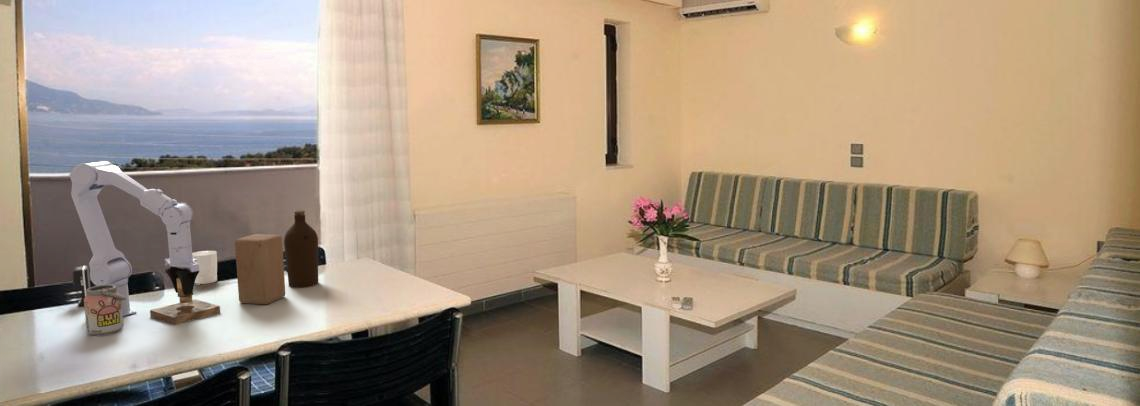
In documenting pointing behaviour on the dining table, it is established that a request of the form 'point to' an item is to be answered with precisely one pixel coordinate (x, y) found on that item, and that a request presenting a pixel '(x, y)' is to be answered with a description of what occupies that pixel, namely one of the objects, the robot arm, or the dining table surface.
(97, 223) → the robot arm
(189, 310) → the board
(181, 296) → the peg
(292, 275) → the olive oil
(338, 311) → the dining table surface
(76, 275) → the battery charger
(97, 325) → the beverage can
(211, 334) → the dining table surface
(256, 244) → the wooden block
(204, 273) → the white cup
